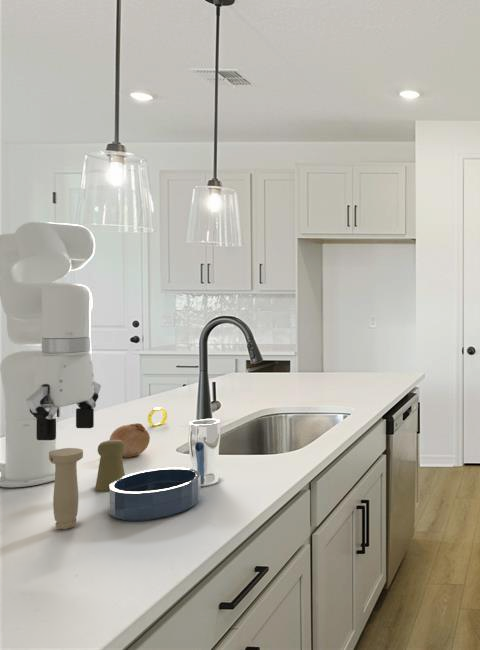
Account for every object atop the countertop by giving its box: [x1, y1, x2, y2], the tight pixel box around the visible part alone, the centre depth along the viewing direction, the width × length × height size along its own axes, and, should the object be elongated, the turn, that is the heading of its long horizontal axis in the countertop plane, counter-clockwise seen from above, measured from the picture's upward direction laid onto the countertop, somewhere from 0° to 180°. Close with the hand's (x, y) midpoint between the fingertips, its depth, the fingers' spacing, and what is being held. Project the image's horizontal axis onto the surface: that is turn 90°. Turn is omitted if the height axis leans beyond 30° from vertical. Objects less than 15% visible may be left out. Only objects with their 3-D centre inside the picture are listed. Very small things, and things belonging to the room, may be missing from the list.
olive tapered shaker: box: [95, 439, 126, 492], centre depth 134 cm, size 6×6×11 cm
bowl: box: [108, 467, 201, 522], centre depth 122 cm, size 17×17×6 cm
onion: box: [109, 422, 151, 459], centre depth 159 cm, size 10×9×10 cm
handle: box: [49, 447, 84, 531], centre depth 111 cm, size 5×6×15 cm
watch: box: [147, 406, 168, 427], centre depth 195 cm, size 6×3×6 cm, turn 156°
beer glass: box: [187, 418, 222, 487], centre depth 138 cm, size 7×7×15 cm
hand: (66, 433), depth 111 cm, fingers open, 9 cm apart
